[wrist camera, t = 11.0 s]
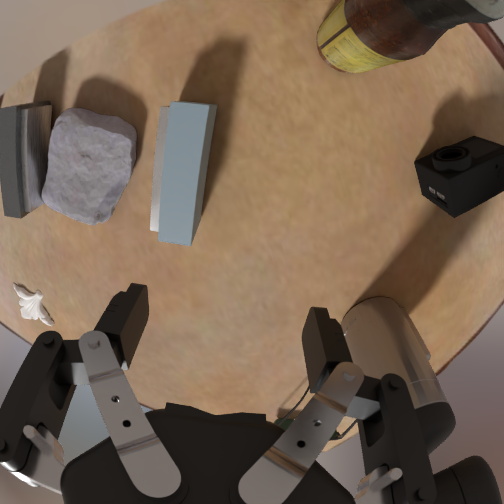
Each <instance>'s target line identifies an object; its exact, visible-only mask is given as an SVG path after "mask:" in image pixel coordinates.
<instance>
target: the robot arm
mask: <svg viewBox="0 0 504 504" xmlns="http://www.w3.org/2000/svg"><path fill="white" fill-rule="evenodd" d="M148 317H149V303H148V290H147V286H146V285H142V284H136V283H131V284H130V286H129V288H128V289H127V291H126V292H123V291H120V292H119V293H118V294H116V295H115V296H114V297H113V298H112V300H111V301H110V303H109V305H108V306H107V308H106V311H104V313H103V315H102V316H101V318H100V320H99V322H98V323H97V325H96V327H95V329H94V330H93V331H89V332H87V333H85V334H83V335H82V336H81V337H80V339H79V340H63V339H62V336H61V335H60V334H59V333H58V332H56V331H46V332H43V333H42V334H40V335H39V336H38V337H37V339H36V341H35V342H34V344H33V346H32V347H31V349H30V351H29V353H28V355H27V356H26V358H25V360H24V362H23V364H22V365H21V367H20V369H19V371H18V373H17V375H16V377H15V379H14V381H13V383H12V385H11V387H10V389H9V391H8V393H7V395H6V397H5V400H4V402H3V404H2V406H1V408H0V464H1V465H2V466H3V467H4V468H5V469H6V470H7V471H9V472H10V473H12V474H13V475H14V476H16V477H17V478H19V479H21V480H23V481H25V482H26V483H28V484H29V485H31V486H34V487H39V486H43V487H45V488H48V489H50V490H52V491H54V492H57V493H60V494H62V496H63V500H64V504H502V500H501V496H500V492H499V488H498V485H497V482H496V479H495V476H494V474H493V472H492V470H491V468H490V467H489V465H488V464H487V462H486V461H485V460H484V459H483V458H482V457H480V456H471V457H468V458H466V459H464V460H462V461H460V462H458V463H456V464H455V465H452V466H450V467H449V468H446V469H445V470H442V471H440V472H438V473H436V474H434V475H433V473H432V468H431V464H430V460H429V456H428V455H429V454H430V453H431V452H432V451H433V450H434V449H436V448H437V447H438V446H439V445H440V444H441V443H442V442H444V440H446V439H447V437H448V436H449V435H450V434H451V433H452V431H453V430H454V428H455V424H456V421H455V416H454V414H453V411H452V409H451V407H450V405H449V403H448V401H447V398H446V396H445V394H444V392H443V389H442V388H441V385H440V383H439V381H438V379H437V377H436V375H435V373H434V371H433V369H432V367H431V365H430V363H429V359H430V357H431V355H430V352H429V350H428V349H427V347H426V345H425V343H424V341H423V339H422V338H421V336H420V334H419V332H418V331H417V329H416V327H415V325H414V324H413V322H412V320H411V318H410V317H409V315H408V313H407V312H406V310H405V308H400V307H399V306H398V305H397V303H396V302H395V301H394V300H392V299H390V298H386V297H375V298H371V299H368V300H365V301H363V302H361V303H359V304H358V305H356V306H355V307H353V308H352V309H351V310H350V311H349V312H348V313H347V314H346V315H345V317H344V319H343V320H342V323H341V325H340V324H339V323H338V322H337V320H336V319H331V318H330V317H329V313H328V310H327V308H321V307H311V308H310V310H309V313H308V316H307V319H306V322H305V325H304V328H303V332H302V345H303V350H304V356H305V362H306V368H307V374H308V381H309V387H310V393H315V395H314V396H313V397H312V398H311V400H310V401H309V402H308V404H307V405H306V406H305V408H304V409H303V410H302V411H301V413H300V414H299V415H298V416H297V418H296V419H295V420H294V421H293V422H292V424H291V425H290V426H289V427H288V428H287V430H285V429H283V428H282V427H280V426H278V425H276V424H274V423H272V422H269V421H266V414H256V413H243V412H241V413H233V414H224V415H213V414H210V413H207V412H205V411H202V410H199V409H196V408H194V407H191V406H185V405H179V404H174V403H168V402H167V403H166V407H165V409H157V410H153V411H149V412H146V413H144V412H143V410H142V408H141V407H140V405H139V403H138V401H137V399H136V397H135V395H134V393H133V391H132V389H131V387H130V384H129V382H128V380H127V378H126V376H125V374H124V372H123V370H122V369H124V370H128V369H129V367H130V364H131V361H132V359H133V356H134V354H135V351H136V348H137V346H138V343H139V341H140V338H141V336H142V333H143V331H144V328H145V326H146V324H147V321H148ZM77 385H90V386H91V389H92V392H93V395H94V397H95V400H96V403H97V405H98V408H99V410H100V413H101V415H102V418H103V420H104V423H105V425H106V428H107V430H108V432H109V434H110V436H109V437H108V438H106V439H105V440H103V441H102V442H100V443H98V444H97V445H95V446H94V447H92V448H91V449H89V450H88V451H86V452H85V453H83V454H81V455H80V456H78V457H76V458H75V459H73V460H72V461H70V462H69V463H68V464H67V465H66V466H65V465H64V461H63V457H64V451H63V447H62V445H61V444H60V443H59V442H58V437H59V434H60V431H61V428H62V425H63V422H64V419H65V416H66V413H67V410H68V408H69V405H70V402H71V399H72V397H73V394H74V391H75V389H76V386H77ZM344 416H348V417H352V418H357V423H358V428H359V434H360V440H361V446H362V453H363V460H364V467H365V474H366V476H365V477H364V478H363V479H362V480H361V481H360V482H359V484H358V488H357V495H356V497H355V498H353V496H352V495H351V494H350V492H348V490H346V489H345V488H344V487H343V486H342V485H341V484H340V483H339V482H338V481H337V480H336V479H334V478H333V477H332V476H331V475H330V474H329V473H328V472H327V471H326V470H325V469H324V468H323V467H322V466H321V465H320V464H319V463H318V462H317V461H316V458H317V457H318V455H319V453H320V452H321V451H322V450H323V448H324V447H325V445H326V444H327V442H328V441H329V439H330V438H331V436H332V435H333V433H334V432H335V430H336V428H337V427H338V425H339V424H340V422H341V420H342V419H343V417H344Z"/></svg>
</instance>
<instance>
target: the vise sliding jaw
mask: <svg viewBox="0 0 504 504" xmlns="http://www.w3.org/2000/svg"><path fill="white" fill-rule="evenodd" d="M216 111H217V105H214V104H206V103H198V102H188V101H175V102H171V103H170V106H162V107H160V114H159V122H158V130H157V139H156V148H155V159H154V170H153V184H152V200H151V223H150V230H151V231H158V241H162V242H168V243H174V244H181V245H187V246H191V244H192V241H193V239H194V236H195V233H196V231H197V228H198V226H199V223H200V220H201V212H202V204H203V196H204V189H205V181H206V174H207V167H208V160H209V154H210V147H211V141H212V135H213V129H214V123H215V117H216Z"/></svg>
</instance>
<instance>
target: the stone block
mask: <svg viewBox="0 0 504 504" xmlns="http://www.w3.org/2000/svg"><path fill="white" fill-rule="evenodd" d="M136 142H137V132H136V129H135V127H134V126H132V125H131V124H129V123H127V122H126V121H124V120H123V119H121V118H119V117H116V116H108V115H100V114H97V113H95V112H93V111H90V110H87V109H83V108H68V109H66V111H65V112H62V114H61V115H60V116H59V117H58V118H57V119H56V122H55V125H54V127H53V129H52V133H51V137H50V144H49V152H48V160H49V161H48V171H47V175H46V181H45V184H44V187H43V190H42V199H43V201H44V202H45V204H46V205H48V206H49V207H50V208H51V209H53V210H55V211H57V212H60V213H62V214H64V215H66V216H68V217H70V218H72V219H74V220H77V221H79V222H83V223H86V224H89V225H97V223H99V222H100V223H104V222H106V221H107V220H108V219H110V217H111V216H112V214H113V211H114V209H115V206H116V204H117V202H118V200H119V199H120V198H121V195H122V192H123V191H124V189H125V187H126V186H127V183H128V181H129V179H130V177H131V174H132V168H133V166H134V163H135V161H136Z"/></svg>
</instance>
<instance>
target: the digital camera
mask: <svg viewBox="0 0 504 504" xmlns="http://www.w3.org/2000/svg"><path fill="white" fill-rule="evenodd" d="M414 164H415V168H416V172H417V175H418V179H419V184H420V188H421V192H422V195H423V196H425V197H426V198H427V199H429V200H430V201H432V202H433V203H434V204H436V205H437V206H439V207H440V208H441V209H443V210H444V211H445V212H447V213H448V214H449V215H451V216H452V217H454V218H455V217H457V216H459V215H461V214H463V213H465V212H467V211H469V210H471V209H472V208H474V207H476V206H478V205H480V204H482V203H483V202H485V201H487V200H489V199H490V198H492V197H494V196H496V195H497V194H499V193H501V192H503V191H504V146H503V145H500V144H497V143H494V142H491V141H488V140H485V139H482V138H479V137H476V136H473V137H470V138H468V139H466V140H463V141H461V142H459V143H456V144H454V145H451V146H446V147H442V148H439V149H437V150H436V151H434V152H433V153H432V154H430V155H428V156H426V157H423V158H421V159H419V160H417V161H415V162H414Z"/></svg>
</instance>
